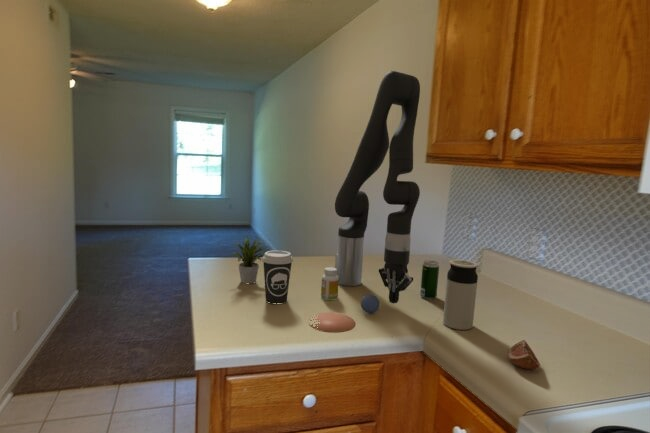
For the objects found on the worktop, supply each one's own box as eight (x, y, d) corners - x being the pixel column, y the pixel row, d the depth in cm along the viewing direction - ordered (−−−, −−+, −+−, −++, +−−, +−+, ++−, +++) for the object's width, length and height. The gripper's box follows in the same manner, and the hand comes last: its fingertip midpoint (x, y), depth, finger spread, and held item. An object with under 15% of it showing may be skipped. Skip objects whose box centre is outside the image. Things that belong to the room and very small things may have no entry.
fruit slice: (541, 379, 91) (544, 357, 90) (508, 372, 93) (510, 351, 92) (536, 361, 99) (539, 341, 98) (505, 356, 101) (507, 336, 100)
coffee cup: (297, 299, 133) (299, 252, 131) (281, 308, 124) (283, 259, 122) (271, 293, 137) (272, 248, 134) (254, 302, 128) (255, 254, 126)
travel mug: (468, 333, 113) (475, 268, 110) (439, 325, 117) (445, 262, 114) (475, 323, 119) (481, 262, 117) (447, 317, 124) (453, 257, 121)
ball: (356, 311, 125) (357, 293, 124) (370, 308, 128) (371, 290, 127) (368, 317, 120) (370, 299, 119) (382, 314, 123) (384, 296, 123)
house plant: (256, 292, 138) (257, 243, 135) (219, 285, 142) (219, 238, 139) (275, 280, 151) (276, 235, 148) (240, 275, 155) (241, 231, 153)
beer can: (428, 300, 137) (431, 265, 135) (416, 295, 141) (419, 261, 140) (439, 298, 140) (443, 263, 138) (427, 293, 144) (430, 259, 142)
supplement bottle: (339, 296, 137) (341, 267, 135) (334, 302, 132) (336, 272, 130) (324, 294, 138) (325, 265, 137) (318, 299, 133) (319, 269, 132)
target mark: (299, 318, 117) (299, 317, 117) (336, 310, 125) (336, 309, 125) (326, 336, 107) (326, 335, 107) (365, 325, 114) (365, 325, 114)
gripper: (422, 250, 124) (418, 307, 126) (390, 242, 134) (387, 294, 137) (404, 253, 119) (400, 311, 122) (373, 244, 130) (369, 298, 132)
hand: (393, 302), depth 129 cm, fingers closed
